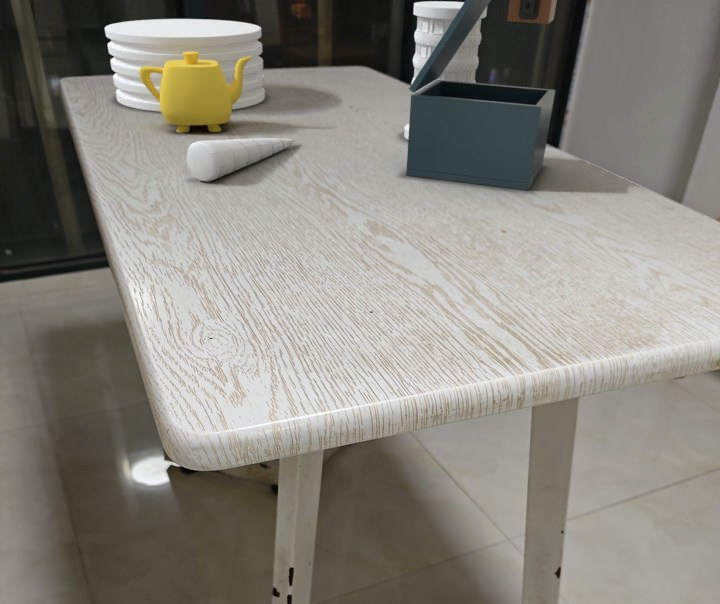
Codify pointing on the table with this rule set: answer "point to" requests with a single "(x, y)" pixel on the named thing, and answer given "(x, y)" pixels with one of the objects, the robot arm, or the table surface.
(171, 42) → the plate stack
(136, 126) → the table surface
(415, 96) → the slate grey rectangular box
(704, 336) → the table surface
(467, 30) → the lid
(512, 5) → the carton
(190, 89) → the teapot
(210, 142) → the unicorn horn
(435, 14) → the decorative container
